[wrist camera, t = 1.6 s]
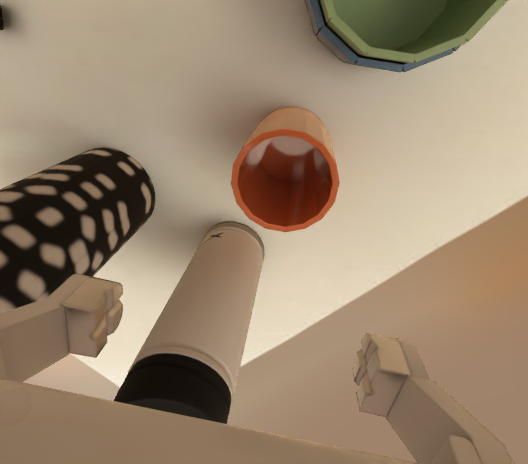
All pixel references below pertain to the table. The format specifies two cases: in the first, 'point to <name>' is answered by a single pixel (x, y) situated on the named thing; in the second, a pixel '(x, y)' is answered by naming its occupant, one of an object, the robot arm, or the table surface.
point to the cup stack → (397, 29)
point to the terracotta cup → (286, 171)
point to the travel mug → (200, 330)
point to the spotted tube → (68, 222)
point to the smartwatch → (1, 20)
